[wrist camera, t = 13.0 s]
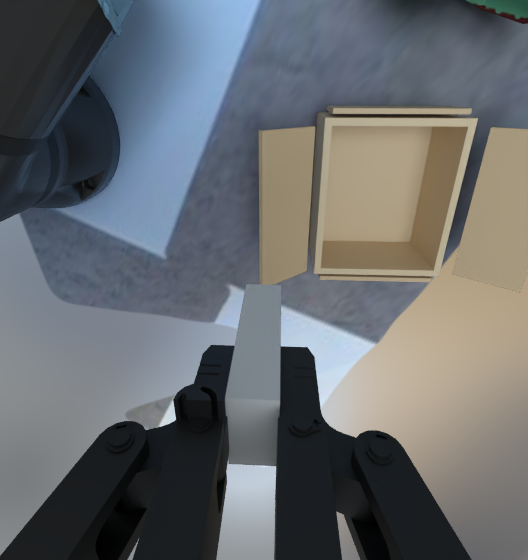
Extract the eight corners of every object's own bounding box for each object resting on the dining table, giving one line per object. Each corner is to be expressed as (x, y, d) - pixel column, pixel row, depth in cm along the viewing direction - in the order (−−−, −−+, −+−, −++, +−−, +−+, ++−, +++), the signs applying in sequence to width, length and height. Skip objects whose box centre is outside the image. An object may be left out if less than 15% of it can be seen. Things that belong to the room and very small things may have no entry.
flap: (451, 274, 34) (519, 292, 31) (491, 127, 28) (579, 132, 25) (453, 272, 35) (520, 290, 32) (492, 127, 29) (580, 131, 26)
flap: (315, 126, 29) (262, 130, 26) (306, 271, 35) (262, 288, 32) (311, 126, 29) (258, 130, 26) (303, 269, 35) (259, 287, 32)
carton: (308, 248, 43) (313, 280, 36) (317, 104, 36) (326, 108, 29) (411, 250, 43) (437, 282, 36) (441, 104, 36) (480, 108, 28)
